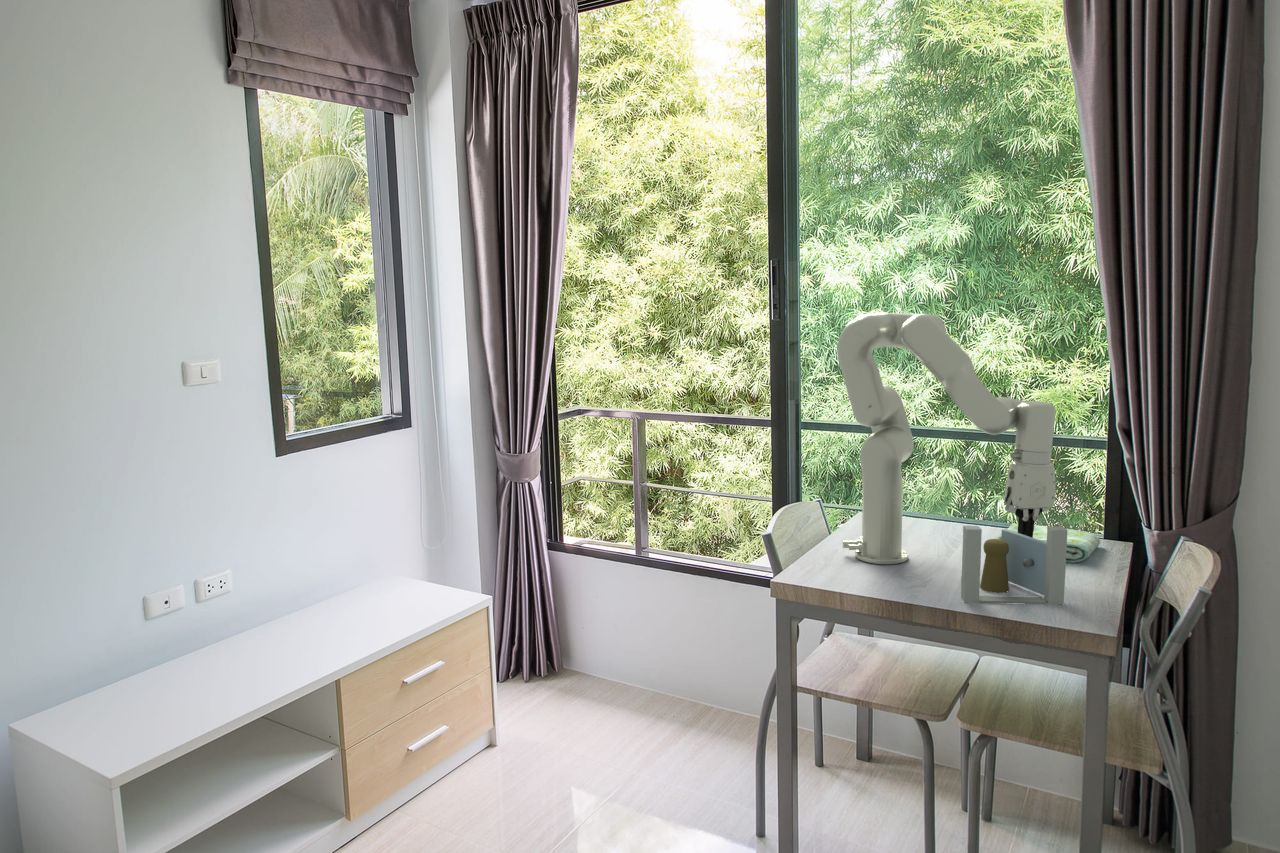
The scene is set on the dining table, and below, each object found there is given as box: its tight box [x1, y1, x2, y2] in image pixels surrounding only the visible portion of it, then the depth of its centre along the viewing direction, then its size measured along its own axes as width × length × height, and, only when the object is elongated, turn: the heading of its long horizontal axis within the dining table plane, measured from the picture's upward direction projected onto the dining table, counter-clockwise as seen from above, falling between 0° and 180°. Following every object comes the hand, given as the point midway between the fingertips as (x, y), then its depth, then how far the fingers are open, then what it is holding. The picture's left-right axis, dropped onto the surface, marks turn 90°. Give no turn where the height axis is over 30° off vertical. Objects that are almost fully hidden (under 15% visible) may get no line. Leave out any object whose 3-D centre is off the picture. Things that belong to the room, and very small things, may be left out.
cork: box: [980, 538, 1010, 594], centre depth 196 cm, size 6×6×11 cm
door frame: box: [960, 525, 1068, 605], centre depth 187 cm, size 20×3×16 cm, turn 83°
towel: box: [995, 522, 1101, 564], centre depth 223 cm, size 18×21×5 cm
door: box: [1001, 528, 1047, 596], centre depth 194 cm, size 13×3×11 cm, turn 21°
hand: (1025, 536), depth 201 cm, fingers closed
